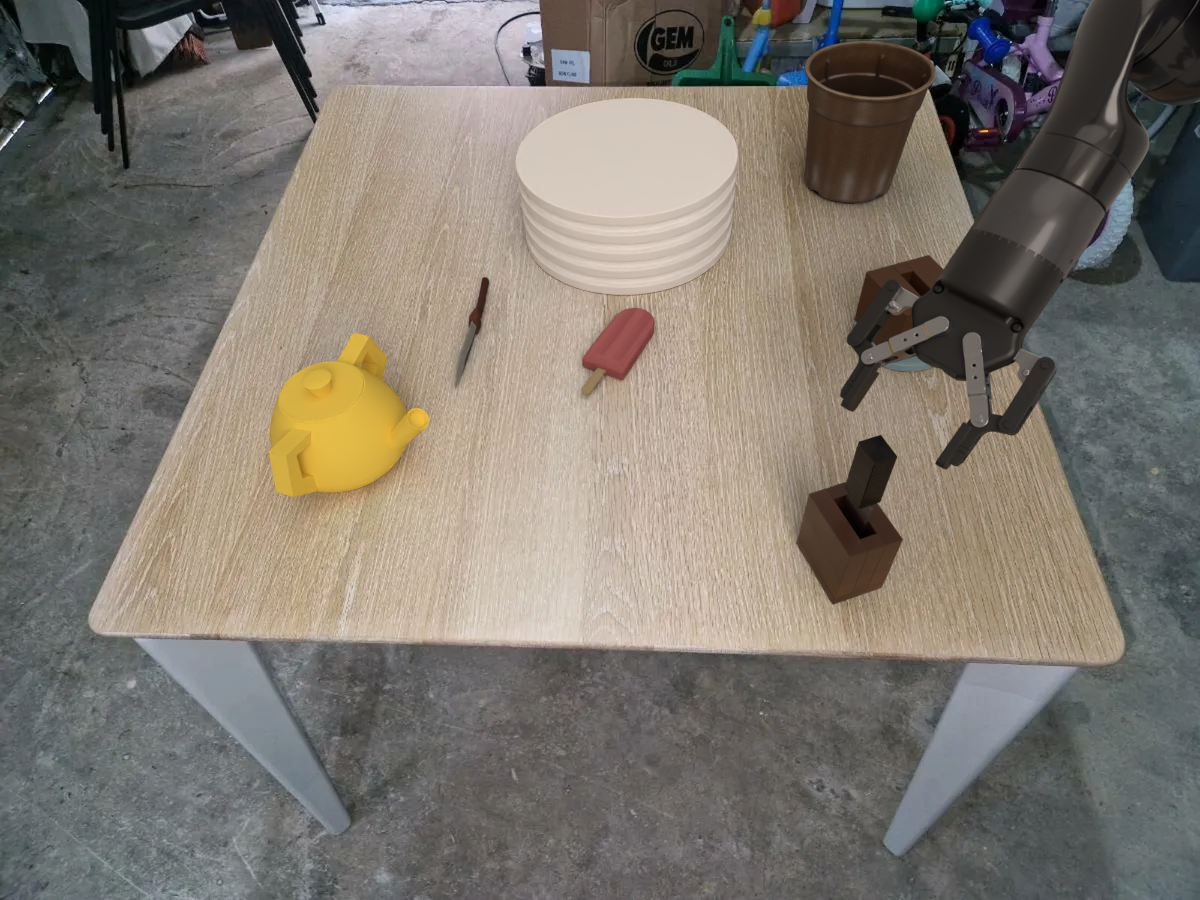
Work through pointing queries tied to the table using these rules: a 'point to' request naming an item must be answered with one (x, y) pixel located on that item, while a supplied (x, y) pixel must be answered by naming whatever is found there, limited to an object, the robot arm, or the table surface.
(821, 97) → the plant pot
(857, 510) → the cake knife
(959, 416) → the table surface
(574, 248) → the plate stack
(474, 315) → the knife
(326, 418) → the teapot
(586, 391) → the popsicle
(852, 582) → the knife block
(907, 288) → the slotted wooden stand
